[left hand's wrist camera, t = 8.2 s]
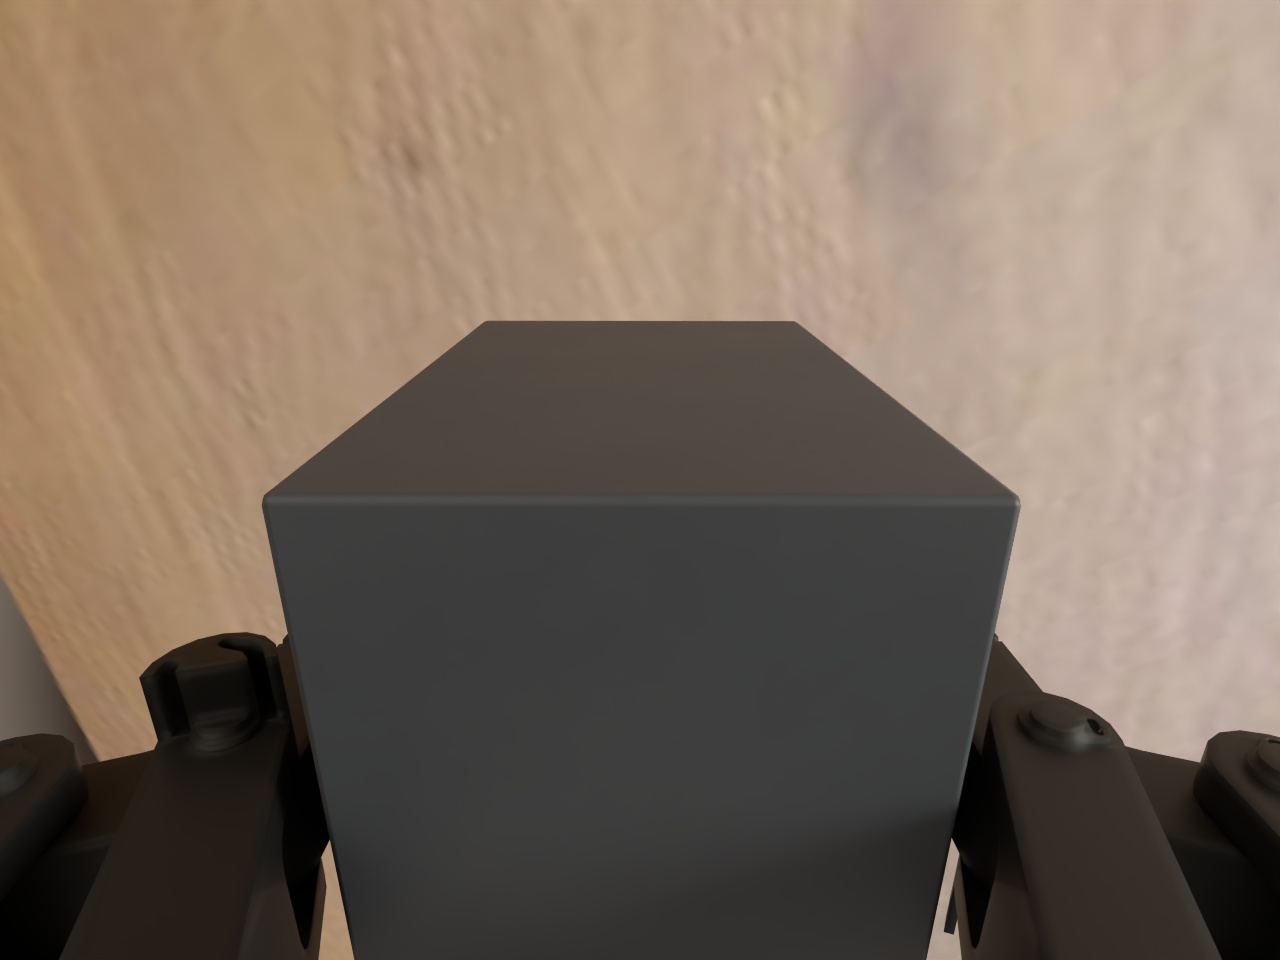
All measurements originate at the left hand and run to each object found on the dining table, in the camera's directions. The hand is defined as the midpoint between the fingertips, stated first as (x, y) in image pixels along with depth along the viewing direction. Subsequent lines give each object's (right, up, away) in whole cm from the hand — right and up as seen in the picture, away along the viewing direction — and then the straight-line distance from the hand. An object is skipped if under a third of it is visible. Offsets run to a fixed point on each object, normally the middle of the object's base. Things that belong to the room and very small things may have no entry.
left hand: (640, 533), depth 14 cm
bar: (0, -11, +5) cm, 12 cm away
